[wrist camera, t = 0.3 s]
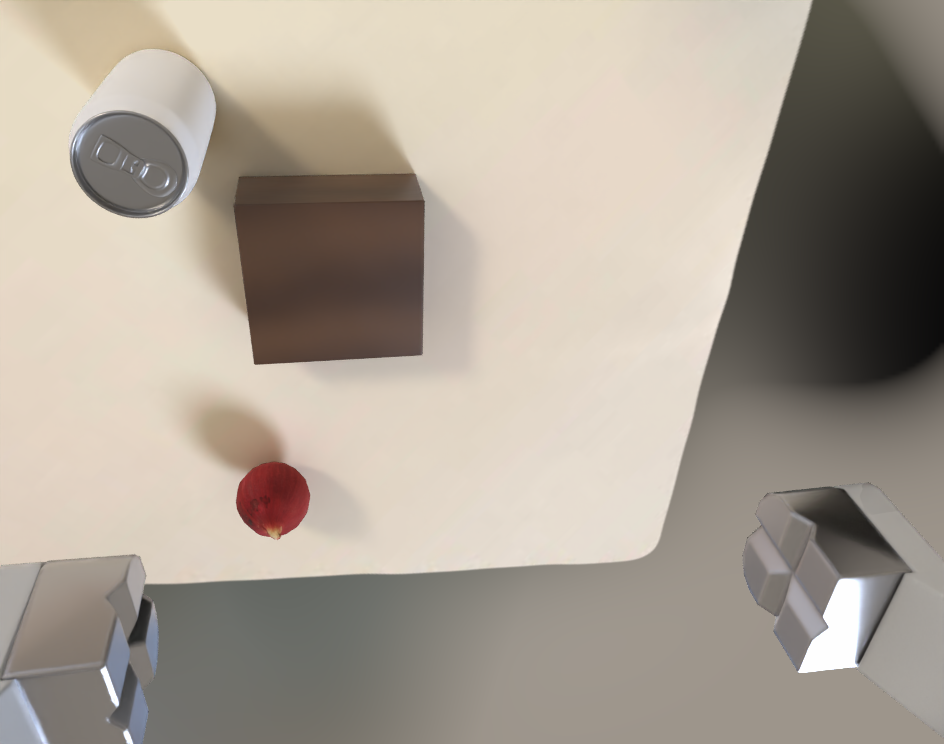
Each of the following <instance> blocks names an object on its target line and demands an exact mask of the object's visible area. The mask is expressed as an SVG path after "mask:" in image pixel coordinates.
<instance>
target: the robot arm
mask: <svg viewBox="0 0 944 744" xmlns="http://www.w3.org/2000/svg"><path fill="white" fill-rule="evenodd" d="M755 515H756V517H757V518H758V520H759V521H760V523H761V526H760V527H759V528H757V529H756V530H755V531H754V532H753V533H752V534H751V535H750V536H749V537H747V541H746V545H745V548H744V551H743V555H742V556H743V569H744V576H745V579H746V582H747V585H748V588H749V590H750V592H751V594H752V596H753V597H754V599H755V601H756V602H757V604H758V605H759V606H761V607H762V608H764V609H765V610H767V611H768V612H770V613H771V614H773V615H774V616H776V619H775V625H774V633H775V635H776V636H777V638H778V640H779V641H780V643H781V645H782V646H783V648H784V650H785V651H786V653H787V655H788V656H789V658H790V660H791V661H792V663H793V665H794V666H795V668H796V670H797V671H798V673H801V672H811V671H820V670H829V669H839V668H847V667H857V666H858V668H857V670H858V671H859V672H860V673H861V674H863V675H864V676H865V677H866V678H868V679H869V680H870V681H872V682H873V683H874V684H875V685H877V686H878V687H879V688H880V689H882V690H883V691H884V692H886V693H887V694H888V695H889V696H891V697H892V698H893V699H894V700H896V701H897V702H898V703H899V704H901V705H902V706H903V707H905V708H906V709H907V710H908V711H910V712H911V713H912V714H913V715H915V716H916V717H917V718H919V719H920V720H921V721H922V722H924V723H925V724H926V725H928V726H929V727H930V728H931V729H933V730H934V731H935V732H936V733H938V734H939V735H940V736H942V737H943V738H944V560H943V559H942V558H941V556H940V555H939V554H938V553H937V552H936V551H935V550H934V549H933V547H932V546H931V545H930V544H929V543H928V542H927V541H926V540H925V538H923V536H922V535H921V534H920V533H919V532H918V531H917V530H916V528H915V527H914V526H913V525H912V524H911V523H910V522H909V521H908V520H907V518H906V517H905V516H904V515H903V514H902V513H901V512H900V510H899V509H898V508H897V507H896V506H895V505H894V504H893V503H892V501H891V500H890V499H889V498H888V497H887V496H886V495H885V494H884V492H883V491H882V490H881V489H880V488H878V487H877V486H875V485H873V484H871V483H869V482H868V483H860V484H849V485H840V486H834V487H822V488H811V489H802V490H792V491H784V492H774V493H767V494H766V495H765V496H764V497H763V498H762V499H761V500H760V502H759V505H758V507H757V510H756V513H755ZM145 579H146V573H145V570H144V567H143V564H142V561H141V557H140V556H137V555H135V554H134V555H121V556H107V557H93V558H79V559H66V560H52V561H47V562H36V563H22V564H8V565H1V566H0V744H143V739H144V734H145V728H146V723H147V717H148V712H149V711H148V708H147V705H146V702H145V698H144V694H143V690H144V689H145V687H146V686H147V685H148V684H149V683H150V682H151V681H152V680H153V679H154V677H155V671H156V665H157V659H158V636H159V631H158V622H157V614H156V610H155V606H154V602H153V600H152V599H150V598H149V597H147V596H146V595H144V594H143V589H144V584H145Z"/></svg>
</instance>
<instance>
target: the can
mask: <svg viewBox="0 0 944 744" xmlns="http://www.w3.org/2000/svg"><path fill="white" fill-rule="evenodd" d="M215 116H216V102H215V97H214V93H213V90H212V88H211V86H210V84H209V82H208V80H207V79H206V77H205V76H204V74H203V73H202V72H201V71H200V70H199V69H198V68H197V67H196V66H195V65H194V64H193V63H192V62H190V61H189V60H187V59H186V58H184V57H182V56H180V55H178V54H176V53H173V52H170V51H167V50H161V49H145V50H140V51H137V52H134V53H132V54H130V55H128V56H126V57H125V58H123V59H122V60H121V61H120V62H119V63H118V64H117V65H116V66H115V67H114V68H113V70H112V71H111V72H110V73H109V74H108V76H107V77H106V78H105V79H104V81H103V82H102V83H101V84H100V86H99V87H98V88H97V90H96V91H95V92H94V93H93V95H92V96H91V97H90V99H89V100H88V101H87V102H86V104H85V105H84V106H83V108H82V109H81V110H80V112H79V113H78V115H77V117H76V118H75V120H74V122H73V125H72V128H71V131H70V135H69V153H70V163H71V168H72V171H73V174H74V177H75V179H76V181H77V182H78V184H79V186H80V187H81V189H82V190H83V191H84V192H85V194H86V195H87V196H88V197H89V198H90V199H91V200H93V201H94V202H95V203H96V204H98V205H99V206H101V207H102V208H104V209H106V210H108V211H110V212H112V213H115V214H117V215H121V216H125V217H130V218H148V217H153V216H157V215H160V214H162V213H164V212H166V211H168V210H169V209H171V208H172V207H174V206H176V205H178V204H179V203H180V202H182V201H183V200H184V199H185V198H186V197H187V196H188V195H189V193H190V192H191V191H192V189H193V188H194V186H195V184H196V182H197V179H198V177H199V174H200V171H201V167H202V164H203V161H204V157H205V154H206V151H207V147H208V144H209V140H210V137H211V133H212V129H213V125H214V121H215Z"/></svg>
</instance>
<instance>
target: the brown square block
mask: <svg viewBox="0 0 944 744" xmlns="http://www.w3.org/2000/svg"><path fill="white" fill-rule="evenodd" d="M424 206H425V201H424V198H423V195H422V192H421V189H420V186H419V183H418V180H417V177H416V174H376V175H318V176H261V177H239V180H238V185H237V191H236V196H235V202H234V212H235V219H236V227H237V235H238V243H239V250H240V258H241V266H242V273H243V281H244V289H245V297H246V304H247V312H248V320H249V327H250V335H251V343H252V351H253V358H254V364H255V365H258V364H276V363H293V362H311V361H329V360H346V359H364V358H381V357H399V356H416V355H422V354H423V280H424Z"/></svg>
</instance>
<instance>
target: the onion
mask: <svg viewBox="0 0 944 744" xmlns="http://www.w3.org/2000/svg"><path fill="white" fill-rule="evenodd" d="M309 500H310V493H309V489H308V486H307V483H306V480H305V478H304V477H303V476H302V475H301V474H300V473H299V472H298V471H297V470H296V469H295V468H293V467H291V466H289V465H287V464H285V463H279V462H270V463H264V464H261V465H259V466H257V467H255V468H253V469H252V470H251V471H250V472H249V473H248V474H247V475H246V476H245V477H244V478H243V479H242V481H241V482H240V484H239V487H238V491H237V499H236V505H237V510H238V512H239V515H240V516H241V518H242V519H243V521H244V523H246V524H247V525H248V526H249V527H250V528H251V529H252V530H254V531H255V532H256V533H257V534H259V535H262V536H267V537H271V538H273V539H277V540H278V539H280V537H281V535H284V534H287V533H288V532H290V531H291V530H293V529H294V528H296V527H297V526H298V525H299V524H300V522H301V521H302V519H303V518H304V517H305V515H306V513H307V510H308V506H309Z"/></svg>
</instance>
